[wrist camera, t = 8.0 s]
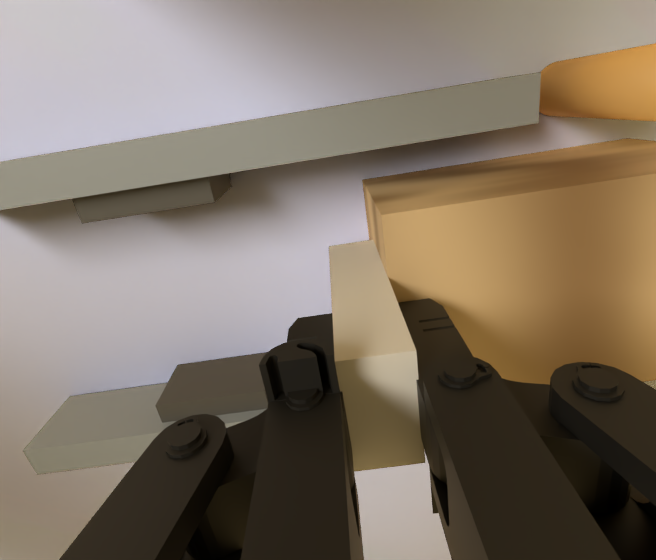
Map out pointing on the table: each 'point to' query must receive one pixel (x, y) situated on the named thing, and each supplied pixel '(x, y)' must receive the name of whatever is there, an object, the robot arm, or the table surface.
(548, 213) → the oak block
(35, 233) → the table surface
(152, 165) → the chute
